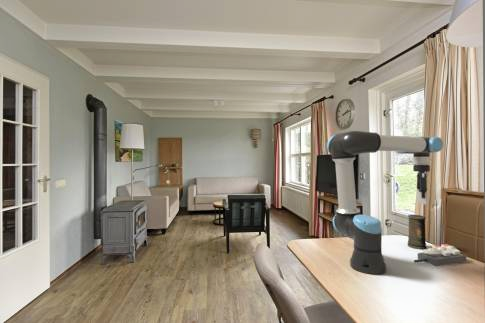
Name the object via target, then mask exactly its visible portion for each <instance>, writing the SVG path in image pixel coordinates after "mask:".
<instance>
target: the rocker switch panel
mask: <svg viewBox="0 0 485 323" xmlns="http://www.w3.org/2000/svg"><path fill="white" fill-rule="evenodd" d="M413 262H414V263H423V262H424V263H425V264H429V265H432V266H435V267H438V266H444V265H446V266H447V265H452V264H459V263H460V264H461V263H465V262H466V263H467V255H466V254H462V253H460V254H457V255H454V254H452V253H451V255H449V256H444V255H443V254H437V255H429V254H428V253H424V252H417V259H414V260H413Z"/></svg>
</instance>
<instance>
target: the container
mask: <svg viewBox="0 0 485 323" xmlns="http://www.w3.org/2000/svg"><path fill="white" fill-rule="evenodd" d="M407 217H408V241H407V246H408V247H409V248H411V249H417V250H424V249H428V248H427V243H426V224H425V223H426V222H425V221H426V216H424V215H420V214H408V215H407Z"/></svg>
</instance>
